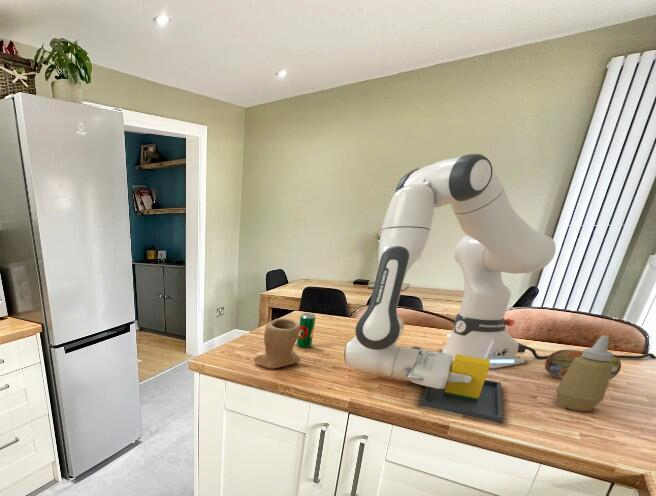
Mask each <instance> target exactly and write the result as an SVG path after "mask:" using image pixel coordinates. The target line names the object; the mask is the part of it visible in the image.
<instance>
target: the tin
mask: <svg viewBox="0 0 656 496" xmlns="http://www.w3.org/2000/svg"><path fill="white" fill-rule="evenodd" d="M583 351H584V350H577V349H559V350H557V351H554V352H552V353H550V354H549V355H548V356H549V357H548V358H547V359H545V361H544V369H545V371H546V372H547V373H548V374H549V375H550V376H551V377H553V378H555V379H558V380H562V379H563V377H564V375H565V374H566V372H567V370H568V369H569V367H570V365H571V364H572V362H573V360H574V359H575V358H577V357H581V355H582V353H583ZM614 355H615V354H613V355H612V357H611V359H610V360H609V361H610V362H611V363H612V364H613V365H614V366H613V369H612V373H611V376H610V379H609V381H610V380H612V379H613V378H615V377H616V376H617V375H618V374H619V373H620V371H621V369H622V362H621V360H620V358H617V357H616V356H614Z"/></svg>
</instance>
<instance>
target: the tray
mask: <svg viewBox="0 0 656 496" xmlns="http://www.w3.org/2000/svg"><path fill="white" fill-rule="evenodd" d="M446 385H447V383H446ZM445 388H446V386H445ZM445 388H444V389H436V388H431V387H427V386H425V388H424V391H423V393H422V397H421V399H420V403H419V406H422V407H426V408H430V409H435V410H439V411H445V412H449V413H452V414H453V413H454V414H457V415H458V414H459V415H463V416H467V417H472V418H476V419H481V420H486V421H489V422H493V423H494V422H495V423H499V424H501V423H502V421H503V400H502V399H503V398H502V382H500V381H496V380H488V379H485V381H484V384H483V387H482V390H481V393H480V396H479V398H478V401H472V400H467V399H462V398H457V397H452V396H447V395H444V392H445Z"/></svg>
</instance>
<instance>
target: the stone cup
mask: <svg viewBox="0 0 656 496" xmlns="http://www.w3.org/2000/svg"><path fill="white" fill-rule="evenodd" d="M263 334H264V335H263V343H264V348H265V353H264V354H263V353H262V354H260V355H257V356H255V357H253V362H254V363H256V364H257V365H258V366H260V367H264V368H266V369H279V368H282V367H287V366H289V365H293V364H296V363H299V362H301V358H300V357H299V355H298V354H297V353H296V352H295V350H293V348H294V346H295V344H296V343H297V338H298V335H299V324H298V322H296V321H295V320H292V319H290V318H284V317H283V318H282V317H279V318H275V319H273V320H271V321H269V322H268V323H267V324H266V326H265V329H264V333H263Z"/></svg>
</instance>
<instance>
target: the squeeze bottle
mask: <svg viewBox="0 0 656 496" xmlns="http://www.w3.org/2000/svg"><path fill="white" fill-rule="evenodd" d="M609 339H610V336H609V335H601V336H599V338H598V339H597V341H596V342H595V343H594V344H593V345H592V347H590V348H588V347H587V348H584V349H583V350H582V351H583V353H582V355H581V357H577V358H575V359H574V360H573V362H572V364H571V365H570V367H569V369H568V370H567V372H566V374H565V375H564V377H563V379H560V382H559V384H558V386H557V387H556V390H555V391H556V403H558V405H561V406H563V407H564V408H566V409H569V410H573V411H578V412H590V411H592V410H593V409H594V408H595V407H596V406H597V405H599V403H601V402H602V401H603V400H604V398H605V395H606V392H607V389H608V385H609V382H610V380H611V379H610V376H611V373H612V369H613V366H614V365H613V364H612V363H611V362H610V361H609V360H610V359H611V357H612V355H614V353H613V352H612V351H609V350H608V348H609ZM609 379H610V380H609Z"/></svg>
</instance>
